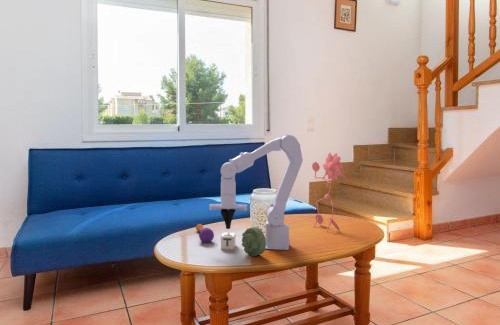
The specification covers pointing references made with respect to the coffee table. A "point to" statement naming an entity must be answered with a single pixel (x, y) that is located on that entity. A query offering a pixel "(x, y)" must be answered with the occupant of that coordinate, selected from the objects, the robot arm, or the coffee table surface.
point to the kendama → (205, 233)
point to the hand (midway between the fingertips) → (228, 228)
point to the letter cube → (228, 240)
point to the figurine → (333, 171)
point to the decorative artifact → (253, 241)
